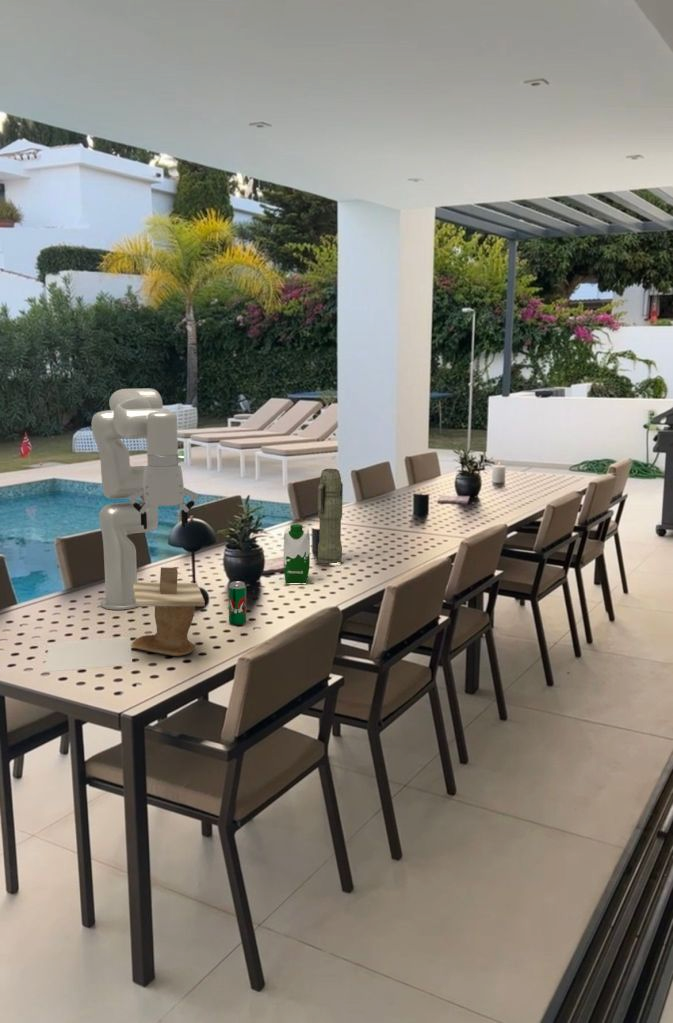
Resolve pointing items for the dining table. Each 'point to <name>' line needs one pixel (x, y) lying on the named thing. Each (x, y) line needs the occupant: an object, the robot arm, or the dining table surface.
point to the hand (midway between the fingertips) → (164, 527)
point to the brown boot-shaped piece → (169, 631)
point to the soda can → (237, 603)
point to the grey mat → (88, 654)
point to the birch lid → (167, 591)
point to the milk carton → (296, 554)
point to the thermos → (330, 516)
